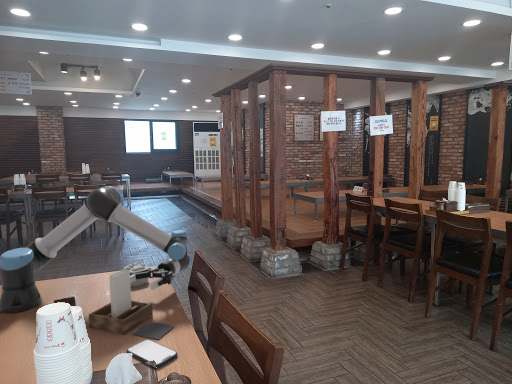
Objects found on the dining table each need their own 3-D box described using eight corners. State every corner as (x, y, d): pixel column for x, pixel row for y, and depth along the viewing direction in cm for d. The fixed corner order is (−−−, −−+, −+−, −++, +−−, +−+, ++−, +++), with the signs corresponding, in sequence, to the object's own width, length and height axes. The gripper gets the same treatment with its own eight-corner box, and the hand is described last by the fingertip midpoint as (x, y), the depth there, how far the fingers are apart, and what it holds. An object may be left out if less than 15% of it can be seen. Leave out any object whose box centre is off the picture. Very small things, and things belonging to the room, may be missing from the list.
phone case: (124, 354, 113) (156, 371, 104) (124, 349, 113) (156, 365, 104) (147, 342, 121) (179, 357, 111) (147, 338, 120) (179, 352, 111)
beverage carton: (52, 335, 125) (50, 317, 124) (54, 314, 142) (53, 298, 141) (77, 330, 128) (76, 312, 128) (76, 310, 145) (75, 294, 145)
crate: (89, 327, 130) (88, 314, 130) (120, 309, 145) (119, 297, 145) (124, 334, 125) (123, 321, 124) (152, 315, 140) (152, 303, 139)
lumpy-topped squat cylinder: (131, 287, 169) (130, 270, 169) (119, 280, 179) (119, 264, 178) (151, 282, 177) (150, 265, 176) (139, 276, 186) (138, 259, 185)
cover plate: (111, 322, 131) (109, 276, 130) (126, 313, 139) (124, 269, 137) (117, 323, 131) (114, 276, 129) (131, 314, 138) (129, 270, 136)
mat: (132, 334, 125) (132, 333, 125) (150, 322, 134) (149, 321, 134) (158, 340, 121) (158, 338, 121) (174, 326, 130) (174, 325, 130)
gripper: (192, 279, 159) (164, 297, 139) (146, 273, 167) (113, 289, 147) (191, 263, 158) (163, 279, 138) (145, 258, 166) (112, 272, 147)
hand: (137, 284), depth 143 cm, fingers open, 13 cm apart
